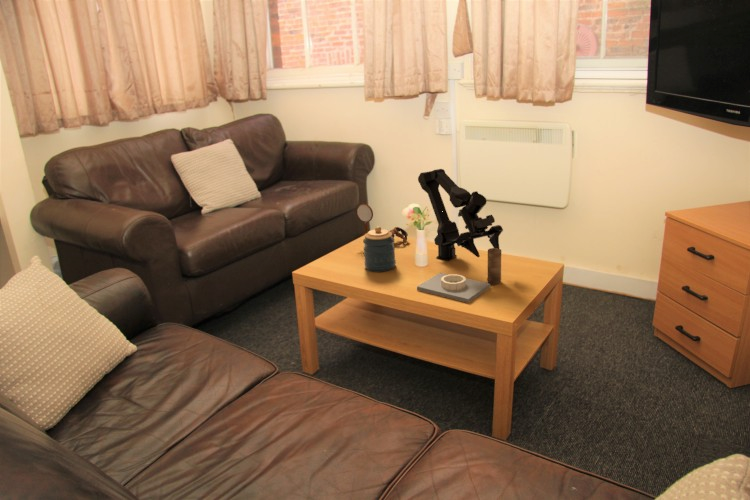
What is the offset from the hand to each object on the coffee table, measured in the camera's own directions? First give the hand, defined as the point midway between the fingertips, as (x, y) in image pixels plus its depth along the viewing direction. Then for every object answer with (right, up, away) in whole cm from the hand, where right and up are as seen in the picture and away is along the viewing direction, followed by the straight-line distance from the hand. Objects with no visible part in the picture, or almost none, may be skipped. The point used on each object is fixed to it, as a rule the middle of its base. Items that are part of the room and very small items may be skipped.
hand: (488, 254), depth 223 cm
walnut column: (+2, -11, +1) cm, 11 cm away
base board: (-14, -13, -3) cm, 19 cm away
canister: (-41, -5, +23) cm, 47 cm away
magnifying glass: (-47, +4, +49) cm, 68 cm away
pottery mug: (-34, +5, +51) cm, 61 cm away
